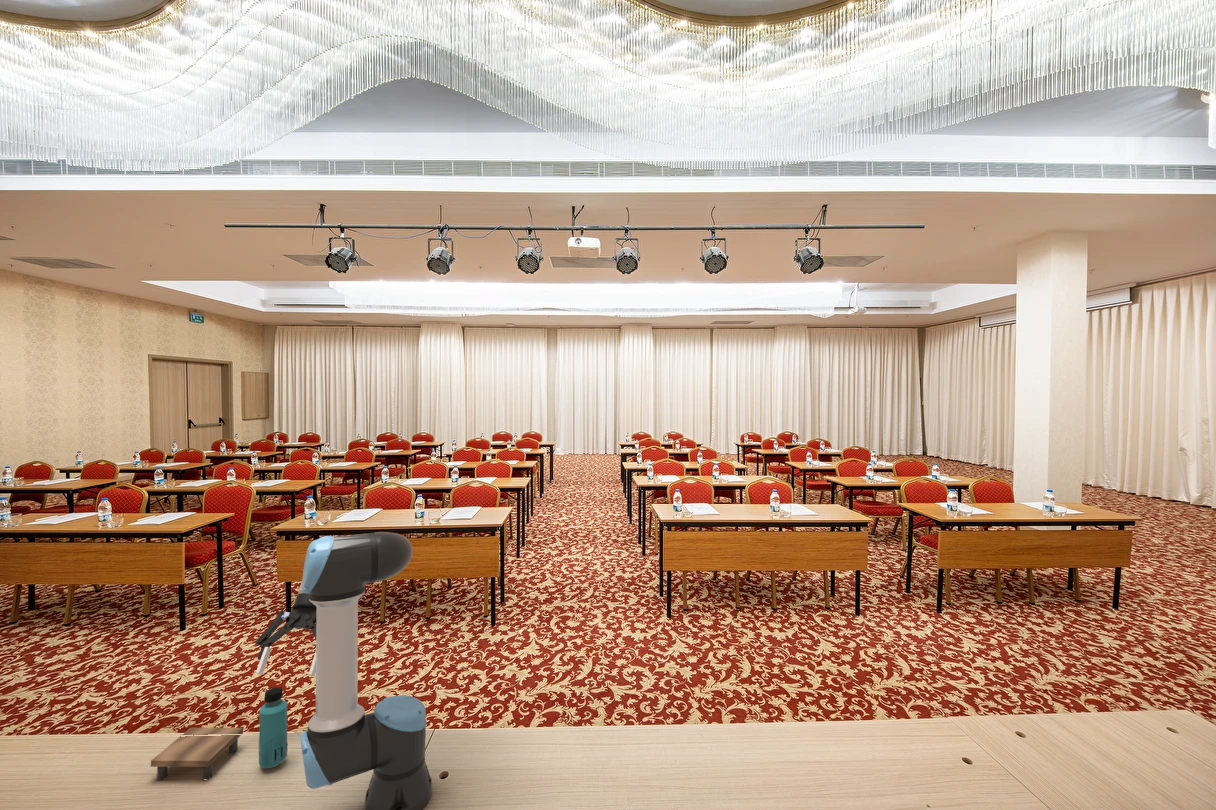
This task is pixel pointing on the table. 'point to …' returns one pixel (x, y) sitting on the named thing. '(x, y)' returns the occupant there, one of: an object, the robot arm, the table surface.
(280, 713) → the beverage bottle
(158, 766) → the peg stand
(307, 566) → the robot arm
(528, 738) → the table surface
